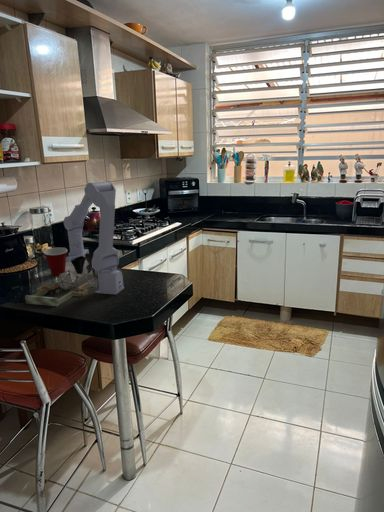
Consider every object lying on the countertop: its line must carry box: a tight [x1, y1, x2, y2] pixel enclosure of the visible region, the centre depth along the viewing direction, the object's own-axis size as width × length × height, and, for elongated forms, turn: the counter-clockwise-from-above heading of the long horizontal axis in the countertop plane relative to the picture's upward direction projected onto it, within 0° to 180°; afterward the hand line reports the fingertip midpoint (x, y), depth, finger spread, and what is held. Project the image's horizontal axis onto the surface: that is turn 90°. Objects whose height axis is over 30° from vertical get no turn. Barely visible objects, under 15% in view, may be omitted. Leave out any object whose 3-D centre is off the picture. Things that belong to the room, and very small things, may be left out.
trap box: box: [24, 282, 90, 307], centre depth 152 cm, size 22×22×3 cm
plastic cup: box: [43, 247, 68, 277], centre depth 177 cm, size 11×11×12 cm
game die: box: [54, 269, 79, 293], centre depth 157 cm, size 9×8×10 cm
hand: (79, 273), depth 166 cm, fingers closed
